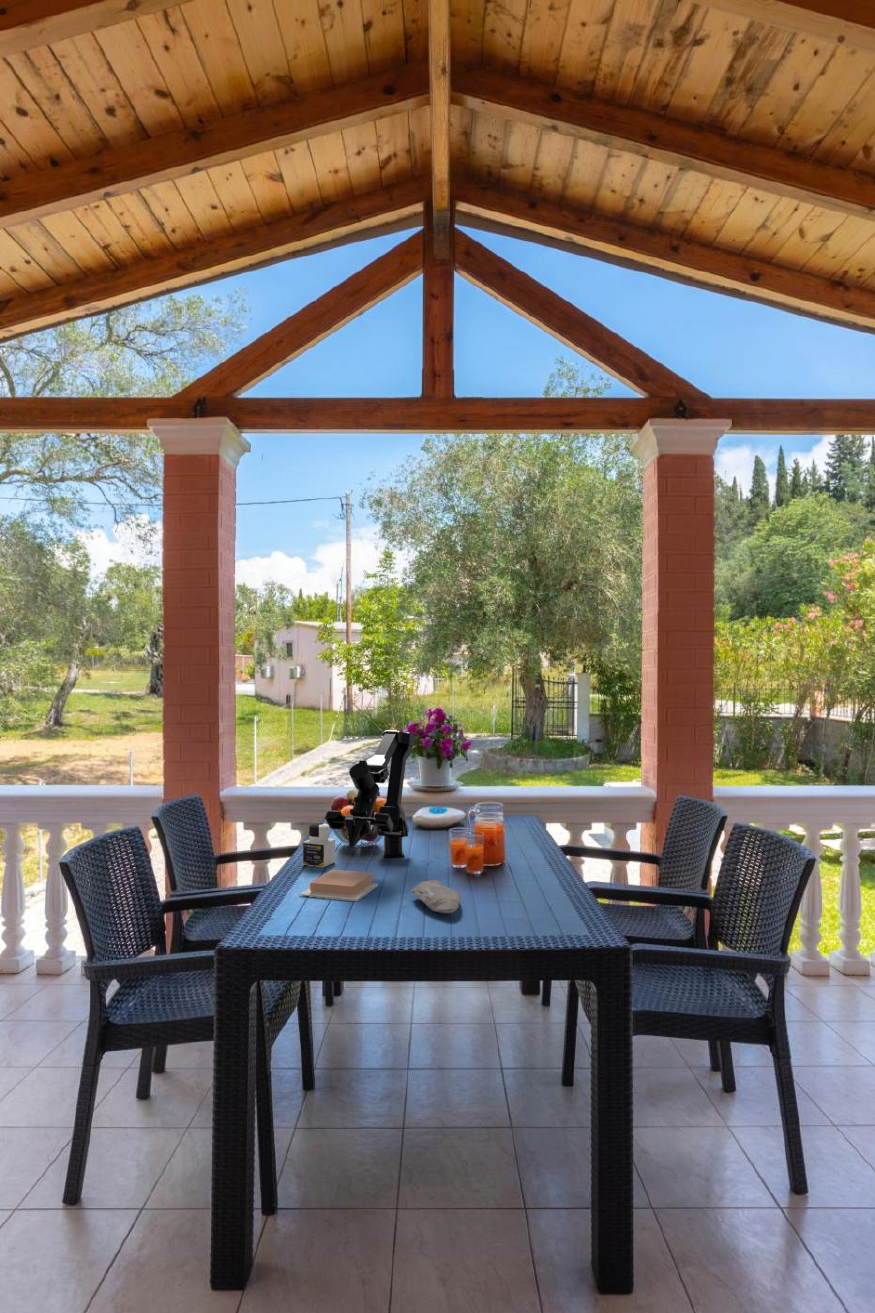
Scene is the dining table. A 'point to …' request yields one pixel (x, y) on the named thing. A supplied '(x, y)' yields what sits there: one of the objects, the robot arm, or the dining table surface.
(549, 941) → the dining table surface
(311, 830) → the medicine bottle
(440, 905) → the stone tool
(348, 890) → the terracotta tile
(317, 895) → the cream square plate
